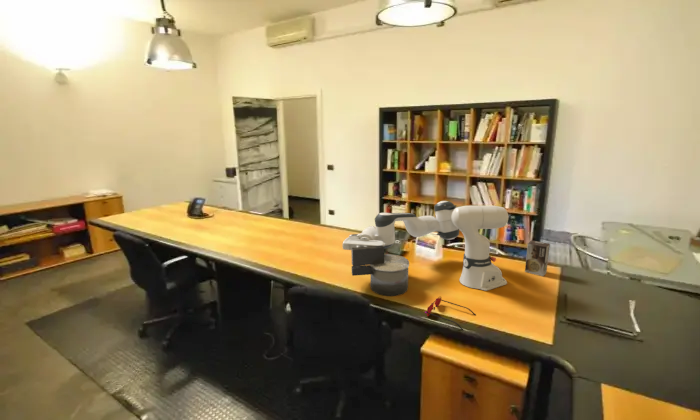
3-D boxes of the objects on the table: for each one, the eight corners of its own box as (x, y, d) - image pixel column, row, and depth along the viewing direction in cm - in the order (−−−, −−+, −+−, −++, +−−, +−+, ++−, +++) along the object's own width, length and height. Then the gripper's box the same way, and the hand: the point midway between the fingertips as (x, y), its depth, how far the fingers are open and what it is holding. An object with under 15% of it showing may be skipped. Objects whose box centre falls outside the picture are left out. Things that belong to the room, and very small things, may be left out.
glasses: (438, 303, 152) (439, 293, 151) (476, 316, 142) (477, 305, 141) (424, 318, 142) (424, 307, 140) (463, 332, 132) (464, 320, 130)
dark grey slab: (401, 255, 175) (402, 238, 173) (414, 270, 157) (415, 251, 155) (348, 259, 170) (348, 242, 168) (356, 275, 152) (355, 256, 150)
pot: (402, 277, 177) (402, 256, 174) (412, 294, 160) (413, 270, 157) (350, 281, 174) (349, 259, 171) (354, 298, 157) (354, 274, 154)
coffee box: (546, 272, 180) (550, 243, 176) (543, 276, 175) (547, 246, 171) (528, 268, 186) (531, 239, 182) (524, 271, 181) (527, 242, 177)
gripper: (386, 248, 174) (381, 259, 161) (347, 245, 179) (339, 255, 166) (386, 236, 172) (381, 246, 159) (346, 234, 177) (339, 243, 164)
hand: (359, 251), depth 162 cm, fingers closed
